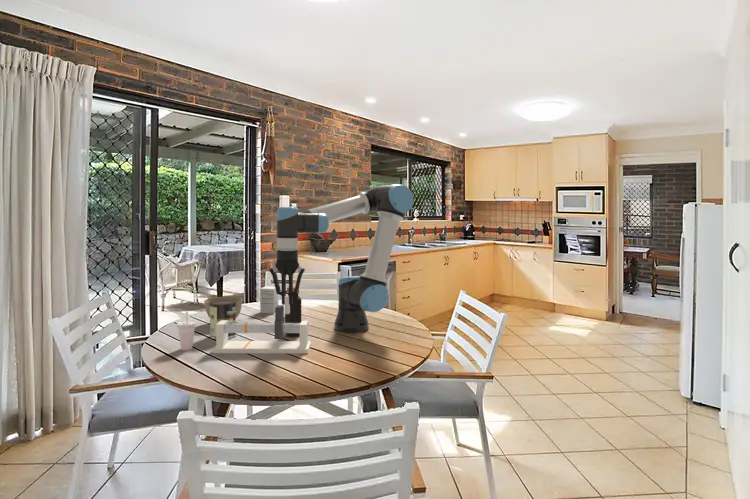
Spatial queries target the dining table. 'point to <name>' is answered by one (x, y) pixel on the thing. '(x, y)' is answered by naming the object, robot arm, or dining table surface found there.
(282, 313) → the dark grey tall block
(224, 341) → the slider rail stand
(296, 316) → the bottle
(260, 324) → the pipe
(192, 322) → the smoothie
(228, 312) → the coffee can
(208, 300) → the planter bowl
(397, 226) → the robot arm
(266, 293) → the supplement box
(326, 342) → the dining table surface
